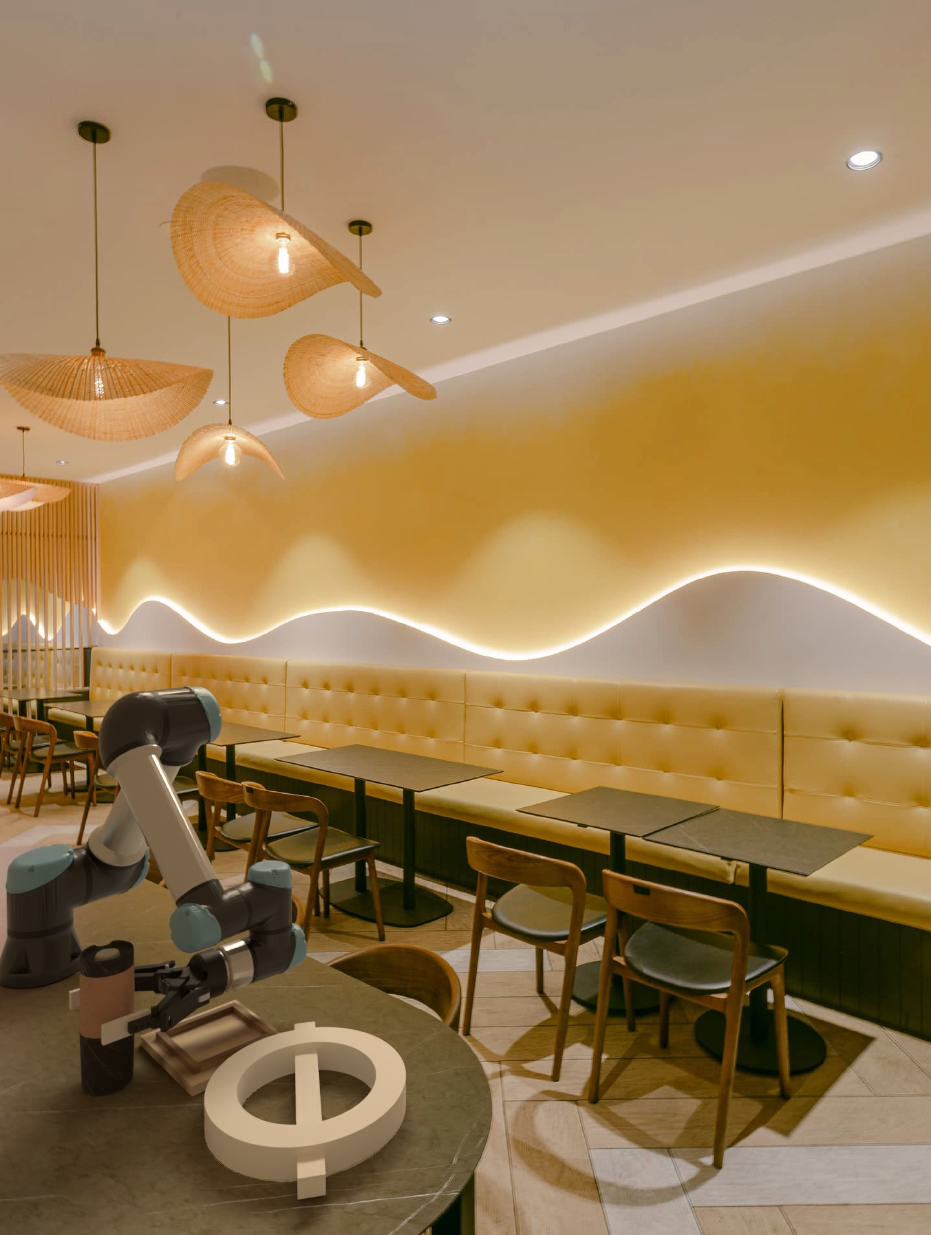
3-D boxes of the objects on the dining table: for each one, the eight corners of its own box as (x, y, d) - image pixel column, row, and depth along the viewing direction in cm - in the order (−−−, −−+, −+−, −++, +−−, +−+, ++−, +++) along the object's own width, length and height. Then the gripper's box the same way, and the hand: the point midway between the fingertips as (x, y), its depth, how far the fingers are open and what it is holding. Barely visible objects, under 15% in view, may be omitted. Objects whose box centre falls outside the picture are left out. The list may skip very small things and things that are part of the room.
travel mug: (113, 1100, 113) (113, 963, 113) (67, 1093, 115) (67, 959, 114) (145, 1069, 120) (145, 941, 120) (102, 1064, 122) (101, 937, 122)
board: (140, 1045, 127) (140, 1029, 127) (235, 1008, 139) (235, 994, 139) (192, 1096, 114) (192, 1079, 114) (292, 1050, 126) (292, 1035, 126)
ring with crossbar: (312, 1218, 91) (312, 1178, 91) (160, 1134, 106) (160, 1099, 106) (443, 1093, 115) (443, 1061, 115) (304, 1038, 130) (304, 1010, 130)
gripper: (257, 1021, 121) (117, 1078, 106) (186, 968, 139) (58, 1011, 124) (256, 973, 121) (117, 1024, 106) (186, 926, 139) (58, 964, 124)
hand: (85, 1017), depth 115 cm, fingers open, 13 cm apart
